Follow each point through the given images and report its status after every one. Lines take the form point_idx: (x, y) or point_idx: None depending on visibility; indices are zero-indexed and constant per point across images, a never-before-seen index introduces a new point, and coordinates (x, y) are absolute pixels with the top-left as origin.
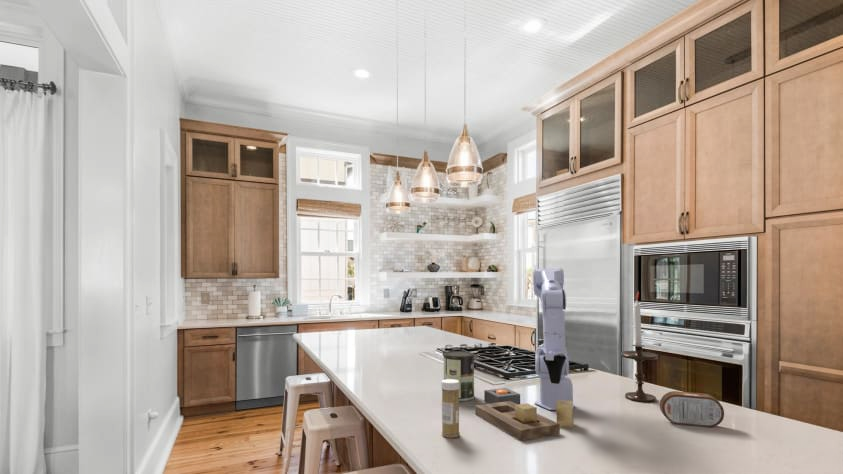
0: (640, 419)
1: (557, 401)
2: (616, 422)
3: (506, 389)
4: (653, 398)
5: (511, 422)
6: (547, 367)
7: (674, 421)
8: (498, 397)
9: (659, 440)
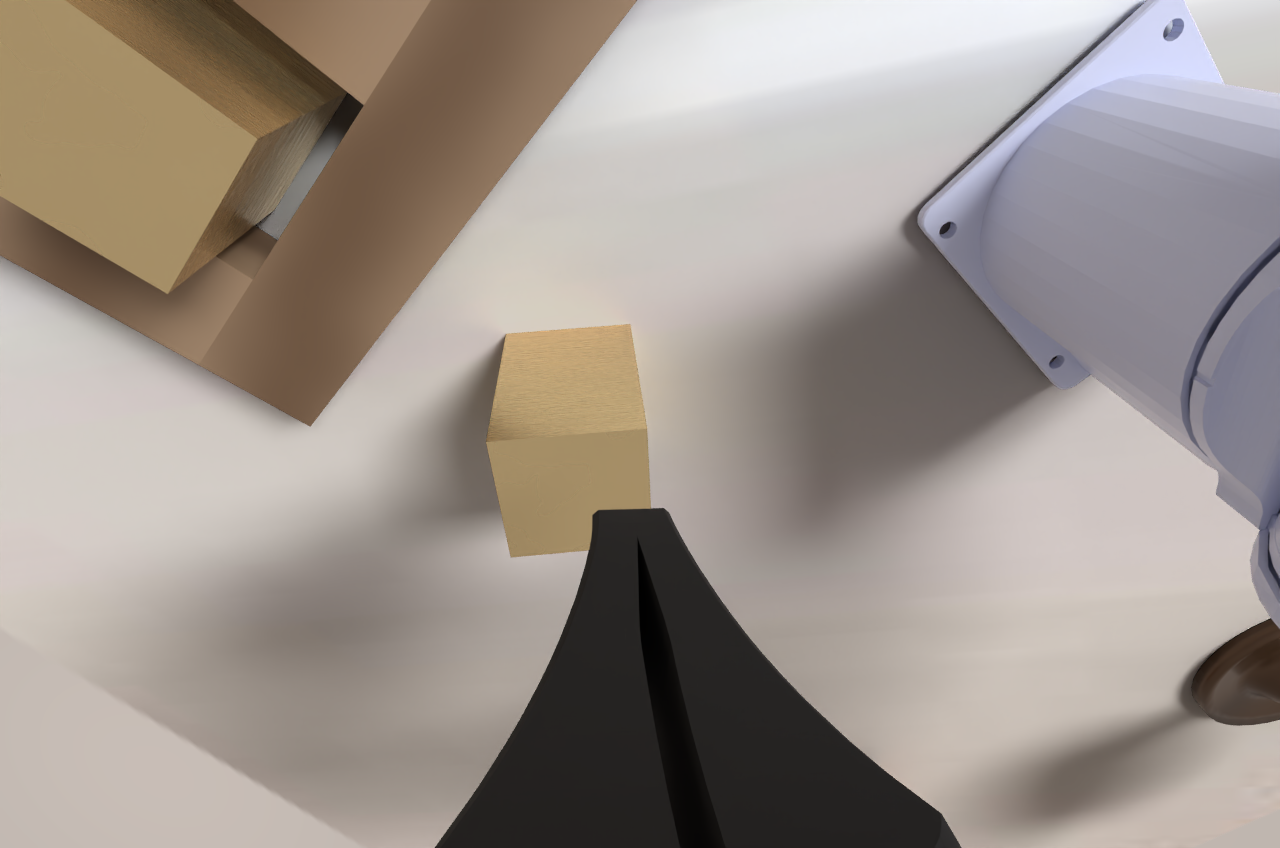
0: (865, 685)
1: (568, 439)
2: (769, 613)
3: None
4: (1237, 716)
5: None
6: (530, 707)
7: None
8: None
9: None
